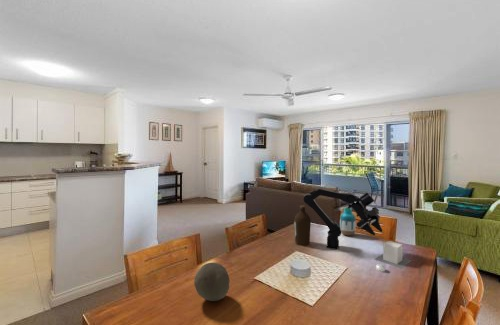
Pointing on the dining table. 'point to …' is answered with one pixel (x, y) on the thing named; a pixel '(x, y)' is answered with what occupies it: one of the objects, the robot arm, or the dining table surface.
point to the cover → (392, 252)
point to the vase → (347, 222)
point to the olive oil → (302, 227)
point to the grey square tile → (400, 264)
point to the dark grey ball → (212, 281)
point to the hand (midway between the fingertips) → (378, 233)
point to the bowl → (380, 268)
